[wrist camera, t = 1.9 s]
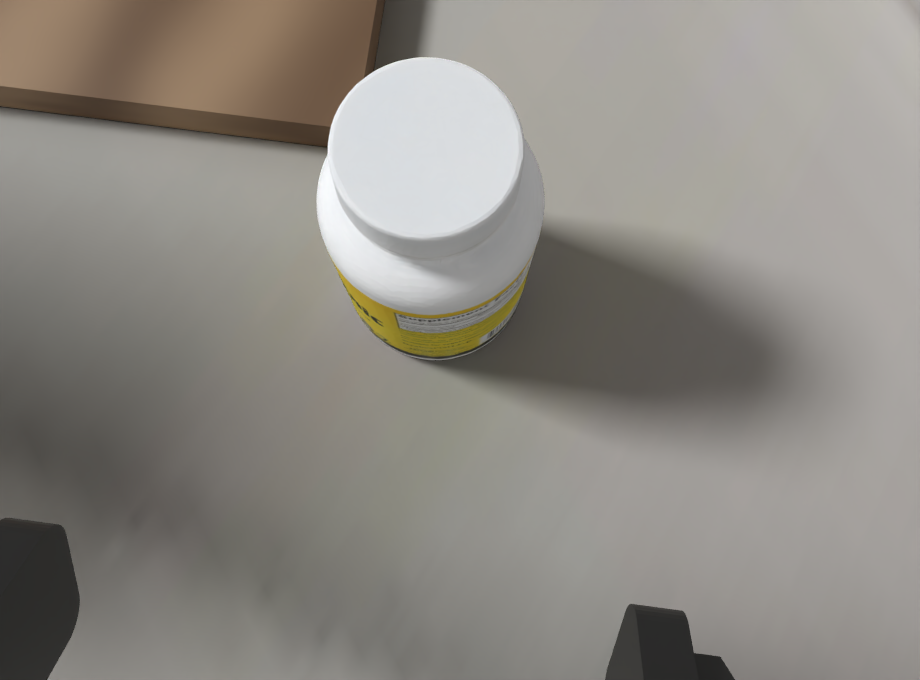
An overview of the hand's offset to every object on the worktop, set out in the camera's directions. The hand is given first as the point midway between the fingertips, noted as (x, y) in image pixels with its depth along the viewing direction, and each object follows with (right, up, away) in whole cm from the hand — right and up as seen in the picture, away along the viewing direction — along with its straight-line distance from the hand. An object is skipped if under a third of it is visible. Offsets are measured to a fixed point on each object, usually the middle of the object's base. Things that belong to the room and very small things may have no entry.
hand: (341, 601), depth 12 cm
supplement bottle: (+1, +6, +15) cm, 16 cm away
